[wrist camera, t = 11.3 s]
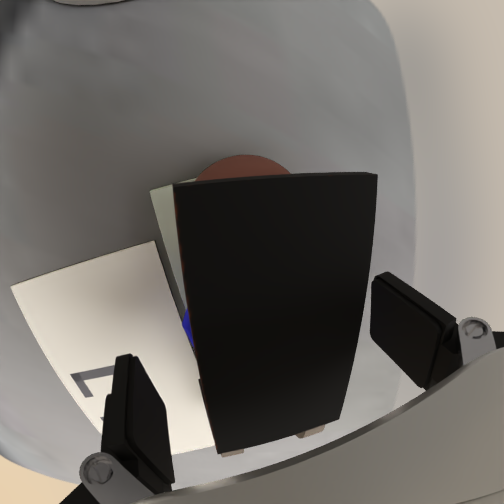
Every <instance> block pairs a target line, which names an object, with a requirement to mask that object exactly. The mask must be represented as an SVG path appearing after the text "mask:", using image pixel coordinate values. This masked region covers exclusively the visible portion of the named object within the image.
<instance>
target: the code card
mask: <svg viewBox="0 0 504 504" xmlns="http://www.w3.org/2000/svg"><path fill="white" fill-rule="evenodd" d="M11 289H12V291H13V294H14V296H15V298H16V300H17V302H18V305H19V307H20V309H21V311H22V313H23V315H24V317H25V319H26V321H27V323H28V325H29V327H30V329H31V331H32V332H33V334H34V336H35V338H36V340H37V342H38V343H39V345H40V347H41V349H42V350H43V352H44V354H45V355H46V357H47V359H48V360H49V362H50V364H51V365H52V367H53V369H54V370H55V372H56V373H57V375H58V376H59V378H60V379H61V381H62V382H63V384H64V385H65V387H66V388H67V390H68V391H69V393H70V394H71V396H72V397H73V398H74V400H75V401H76V403H77V404H78V405H79V407H80V408H81V409H82V411H83V412H84V413H85V415H86V416H87V417H88V418H89V420H90V421H91V422H92V424H93V425H94V426H95V427H96V428H97V430H98V431H99V432H100V433H101V435H102V429H103V418H104V408H105V399H106V396H107V395H108V394H111V390H112V382H113V374H114V366H115V359H116V357H117V356H121V355H125V354H129V353H131V354H132V355H133V357H134V356H138V358H139V359H140V361H141V363H142V365H143V367H144V369H145V371H146V372H147V374H148V376H149V378H150V379H151V381H152V383H153V385H154V386H155V388H156V390H157V392H158V393H159V395H160V397H161V398H162V400H163V402H164V404H165V407H166V411H167V421H168V431H169V440H170V448H171V455H173V454H178V453H183V452H188V451H193V450H197V449H201V448H206V447H210V446H214V445H215V443H214V439H213V435H212V432H211V428H210V424H209V421H208V417H207V413H206V409H205V406H204V402H203V398H202V394H201V390H200V385H199V381H198V379H200V376H199V371H198V366H197V360H196V358H195V355H194V352H193V350H192V347H191V345H190V342H189V340H188V337H187V334H186V332H185V330H184V328H183V327H182V321H181V318H180V316H179V313H178V310H177V307H176V305H175V302H174V299H173V296H172V293H171V290H170V287H169V284H168V281H167V278H166V275H165V272H164V269H163V266H162V263H161V260H160V257H159V254H158V250H157V247H156V244H155V241H150V242H147V243H143V244H140V245H136V246H133V247H130V248H126V249H123V250H120V251H116V252H113V253H110V254H107V255H103V256H100V257H97V258H94V259H91V260H87V261H84V262H81V263H78V264H75V265H72V266H68V267H65V268H62V269H59V270H56V271H53V272H50V273H47V274H44V275H41V276H38V277H35V278H32V279H29V280H26V281H23V282H20V283H18V284H15V285H12V286H11Z"/></svg>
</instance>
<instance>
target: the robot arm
mask: <svg viewBox="0 0 504 504" xmlns="http://www.w3.org/2000/svg"><path fill="white" fill-rule="evenodd" d="M54 1H56V2H59V3H65V4H73V5H97V4H104V3H112V2H119V1H123V0H54ZM370 335H371V338H372V339H373V341H374V342H375V343H376V344H377V345H378V346H379V347H380V348H381V349H382V350H383V351H384V352H385V353H386V354H387V355H388V356H389V357H390V358H391V359H392V360H393V361H394V362H395V363H396V364H397V365H398V366H399V367H400V368H401V369H402V370H403V371H404V372H405V373H406V374H407V375H408V376H409V377H410V378H411V380H413V382H414V383H415V384H416V385H417V386H418V387H420V388H422V387H423V388H424V389H425V390H426V391H425V392H424V393H422V394H421V395H419V396H418V397H416V398H414V399H413V400H411V401H409V402H408V403H406V404H404V405H403V406H401V407H399V408H397V409H396V410H394V411H392V412H390V413H389V414H387V415H385V416H383V417H381V418H379V419H378V420H376V421H374V422H372V423H370V424H368V425H366V426H364V427H362V428H360V429H358V430H356V431H354V432H352V433H350V434H348V435H346V436H343V437H341V438H339V439H337V440H335V441H332V442H330V443H328V444H326V445H323V446H321V447H318V448H316V449H314V450H311V451H309V452H306V453H303V454H301V455H298V456H296V457H293V458H290V459H287V460H285V461H282V462H279V463H276V464H273V465H270V466H267V467H264V468H261V469H257V470H254V471H251V472H247V473H244V474H240V475H237V476H233V477H229V478H226V479H222V480H218V481H214V482H210V483H205V484H201V485H196V486H192V487H187V488H183V489H178V490H174V491H172V487H171V484H172V483H175V477H174V470H173V463H172V456H171V448H170V440H169V431H168V421H167V411H166V407H165V404H164V402H163V400H162V398H161V397H160V395H159V393H158V392H157V390H156V388H155V386H154V385H153V383H152V381H151V379H150V378H149V376H148V374H147V372H146V371H145V369H144V367H143V365H142V363H141V361H140V359H139V358H138V356H134V357H133V355H132V354H131V353H129V354H125V355H121V356H117V357H116V359H115V366H114V374H113V382H112V390H111V394H108V395H107V396H106V399H105V408H104V418H103V429H102V441H101V452H97V453H94V454H91V455H90V456H88V457H87V458H86V459H85V460H84V461H83V462H82V464H81V466H80V470H79V475H80V479H81V481H82V483H81V484H80V485H79V486H78V487H76V489H74V490H73V491H72V492H71V493H70V494H69V495H68V496H67V497H66V498H65V499H64V500H63V501H62V502H61V503H59V504H504V332H495V331H492V330H491V327H490V326H489V324H488V323H487V322H486V321H484V320H483V319H480V318H476V317H469V318H466V319H463V320H462V321H461V322H460V323H459V325H458V324H457V323H456V318H455V317H454V316H452V315H451V314H450V313H448V312H447V311H445V310H444V309H443V308H441V307H440V306H438V305H437V304H435V303H434V302H433V301H431V300H430V299H428V298H427V297H425V296H424V295H423V294H421V293H419V292H418V291H417V290H415V289H414V288H412V287H411V286H409V285H408V284H406V283H405V282H403V281H402V280H400V279H399V278H397V277H396V276H394V275H393V274H391V273H390V272H384V273H382V274H379V275H377V276H375V278H374V281H372V284H371V319H370ZM163 492H164V493H163Z"/></svg>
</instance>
